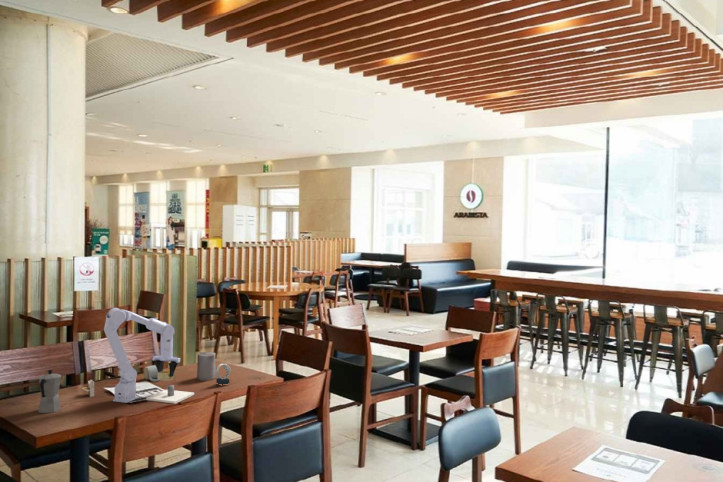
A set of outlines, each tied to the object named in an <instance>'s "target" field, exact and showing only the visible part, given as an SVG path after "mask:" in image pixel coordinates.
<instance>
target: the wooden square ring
mask: <svg viewBox="0 0 723 482" xmlns="http://www.w3.org/2000/svg"><path fill="white" fill-rule="evenodd" d="M175 376H176V371H175V372H174V376H172V377H170V370H168V369H167V370H166V369H165V370H164V369H163V371H161V372H159V373H158V380H160V381H164V382H169V381H172V380H173V379H175V378H176V377H175Z"/></svg>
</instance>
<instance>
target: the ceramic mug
mask: <svg viewBox="0 0 723 482" xmlns="http://www.w3.org/2000/svg"><path fill="white" fill-rule="evenodd" d="M143 377H144V379H145V380H147V381H151V382H155V383H157V382H160V381H161V380H158V370H157V368H156V366H155V364H154V365H148V366H146V367H144V368H143Z"/></svg>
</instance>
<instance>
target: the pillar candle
mask: <svg viewBox="0 0 723 482" xmlns="http://www.w3.org/2000/svg"><path fill="white" fill-rule="evenodd" d="M216 354H217V353H216V352H213V351H201V352H198V353H197V362H196V363H197V367H196V369H197V371H196V373H197V374H196V379H197V380H198V379H199V380H198V381H210V380H209V379H212V380H214V379H213V378H215V379H216Z"/></svg>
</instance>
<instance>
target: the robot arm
mask: <svg viewBox="0 0 723 482" xmlns="http://www.w3.org/2000/svg"><path fill="white" fill-rule="evenodd" d="M125 321H126V322H129V321H134V322H136V323H138V324H141V325H145V327H146V329H147V330H149V331H152V332H154V333H156V334H160V353H159V355H154V356H152V361H154V362H153V364H154V365H155V366H156V368H157V370H158V373H159V372H161V371H164V364H165V362H168V368H169V371H170V377H172V376H174V372H175V373H176V368H177V367H178V365H179V363H180V362H181V358H180V357H175V356H173V355H174V354H173V350H174V348H173V347H174V346H173V345H174V337H173V336H174V335H175V327H173V326H172V325H171V324H168V322H166V321H161V320H158V318H157V317H151V318H146V317H144V316H141V315H139V314H137V313H135V312H132V311H129V310H127V309H126V310H125V309H120V308H119V307H112V308H110V309H109V310H108V312H107V314H105V321H104V328H103V331H104V333H105V336H106V339H107V340H108V342H109V345H110V349H111V351H112V353H113V354H114V357H115V360H116V362H117V367H118V375H119V376H120V378H119V382H118V383H117V384H116V385H115V386H114V398H113V399H112V401H113V402H117V403H123V404H124V403H130V402H132V401H135V400H137V399H139V398H140V396H136V391H137V390H136V389H137V388H136V387H137V384H136V383H137V376H138V372H137V370H136V369H135V368H134V367H133V365H132V364H131V361H130V360H129V358H128V355H127V353H126V350H125V348H124V345H123V344H122V341H121V338H120V336H119V334H118V330H119V328H120V326H121V325H122V324H123V323H124V322H125Z"/></svg>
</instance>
